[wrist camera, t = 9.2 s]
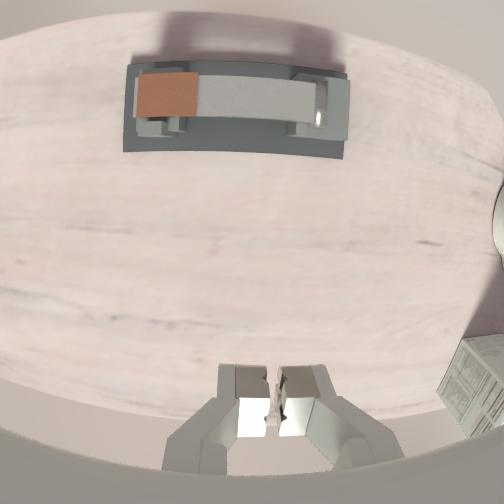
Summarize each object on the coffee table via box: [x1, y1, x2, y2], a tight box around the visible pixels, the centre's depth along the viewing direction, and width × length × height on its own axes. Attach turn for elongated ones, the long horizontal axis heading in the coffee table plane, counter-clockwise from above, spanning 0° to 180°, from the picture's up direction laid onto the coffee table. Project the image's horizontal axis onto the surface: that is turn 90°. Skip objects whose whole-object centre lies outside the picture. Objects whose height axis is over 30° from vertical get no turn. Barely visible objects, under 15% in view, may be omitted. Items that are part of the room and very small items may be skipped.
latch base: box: [123, 61, 350, 159], centre depth 28 cm, size 24×10×9 cm, turn 87°
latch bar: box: [133, 72, 329, 129], centre depth 25 cm, size 17×4×2 cm, turn 87°
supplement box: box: [436, 333, 504, 438], centre depth 40 cm, size 13×13×18 cm
